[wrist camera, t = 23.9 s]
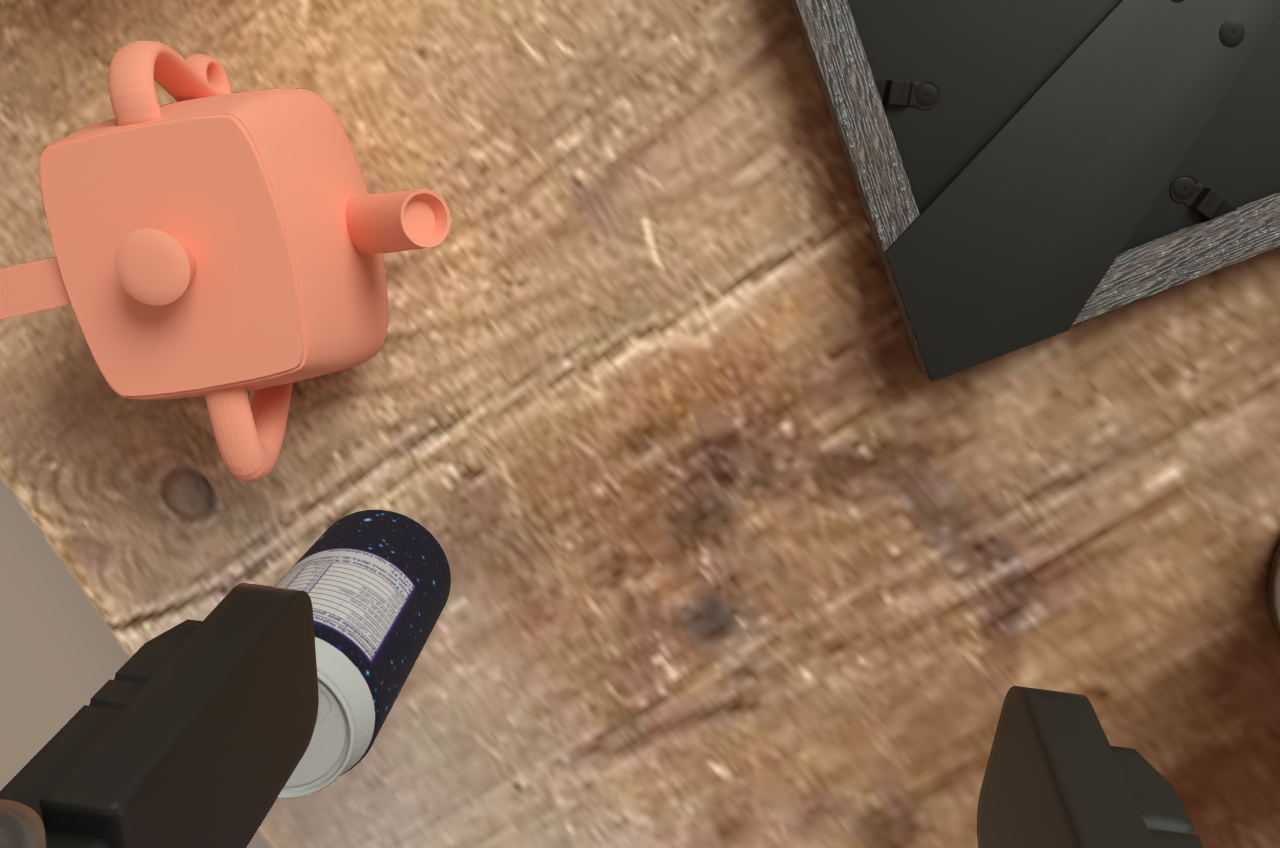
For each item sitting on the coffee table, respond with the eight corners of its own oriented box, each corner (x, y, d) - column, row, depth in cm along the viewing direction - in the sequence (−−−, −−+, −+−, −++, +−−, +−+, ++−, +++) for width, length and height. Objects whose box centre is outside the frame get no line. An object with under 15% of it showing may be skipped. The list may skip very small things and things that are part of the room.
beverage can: (292, 553, 42) (141, 711, 30) (393, 475, 41) (275, 609, 29) (383, 652, 43) (270, 841, 31) (483, 578, 42) (405, 747, 30)
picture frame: (919, 369, 39) (1496, 150, 35) (931, 382, 37) (1542, 151, 34) (771, -51, 35) (1401, -338, 32) (776, -63, 33) (1447, -368, 30)
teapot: (499, 201, 38) (438, 221, 28) (326, 440, 40) (219, 529, 31) (238, -4, 36) (82, -54, 27) (77, 259, 39) (-114, 297, 30)
